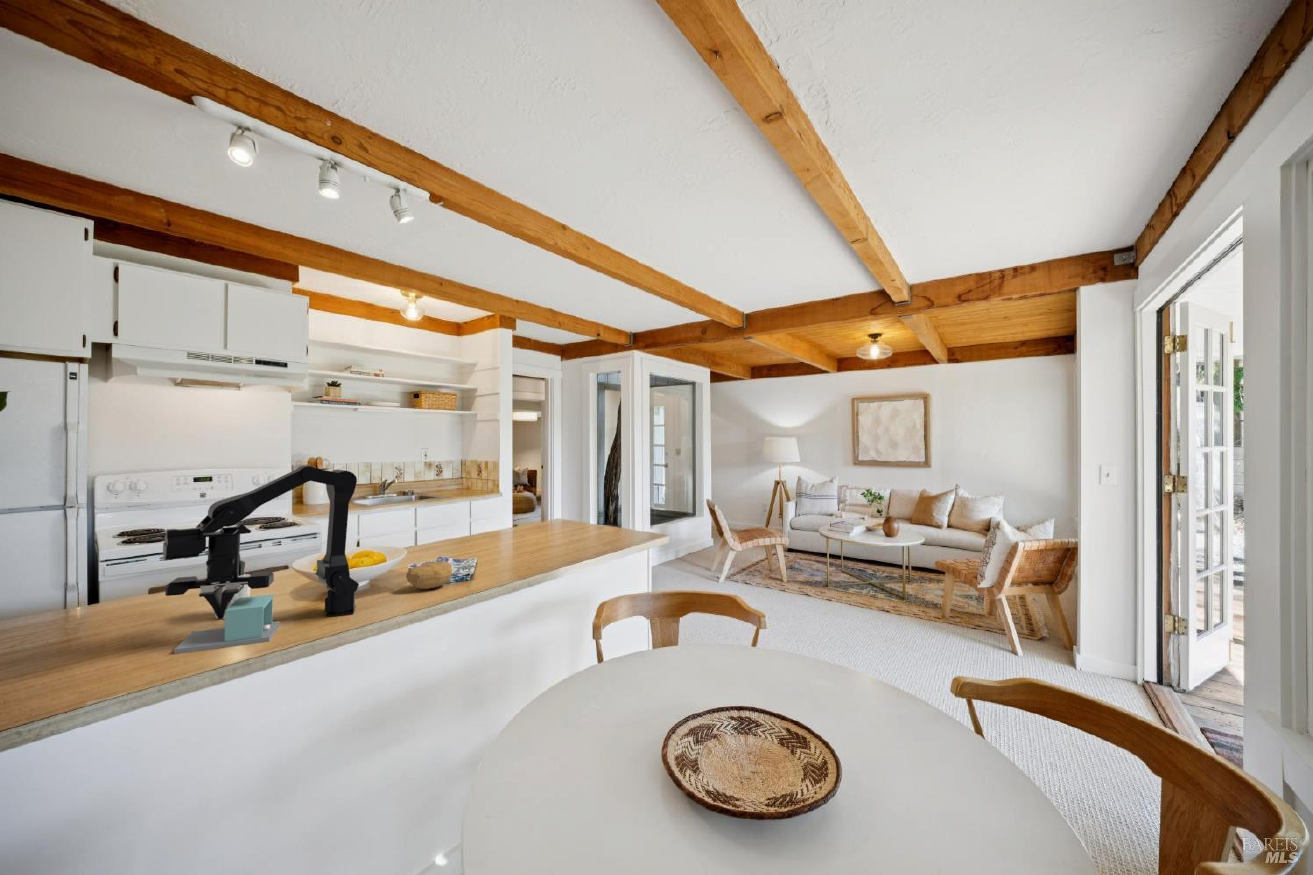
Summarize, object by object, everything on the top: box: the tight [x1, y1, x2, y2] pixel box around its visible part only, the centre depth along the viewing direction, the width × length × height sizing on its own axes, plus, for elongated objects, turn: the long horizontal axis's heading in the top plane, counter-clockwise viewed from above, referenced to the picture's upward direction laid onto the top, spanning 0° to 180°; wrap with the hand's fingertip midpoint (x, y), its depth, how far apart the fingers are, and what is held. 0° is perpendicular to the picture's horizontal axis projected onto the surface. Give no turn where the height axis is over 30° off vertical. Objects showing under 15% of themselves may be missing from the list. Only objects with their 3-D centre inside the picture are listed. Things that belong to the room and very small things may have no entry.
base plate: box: [173, 620, 281, 655], centre depth 118 cm, size 17×11×2 cm, turn 117°
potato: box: [405, 561, 453, 590], centre depth 160 cm, size 10×14×8 cm
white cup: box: [212, 573, 252, 620], centre depth 133 cm, size 8×8×10 cm
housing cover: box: [224, 594, 274, 641], centre depth 120 cm, size 7×10×7 cm
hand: (221, 618), depth 117 cm, fingers closed
